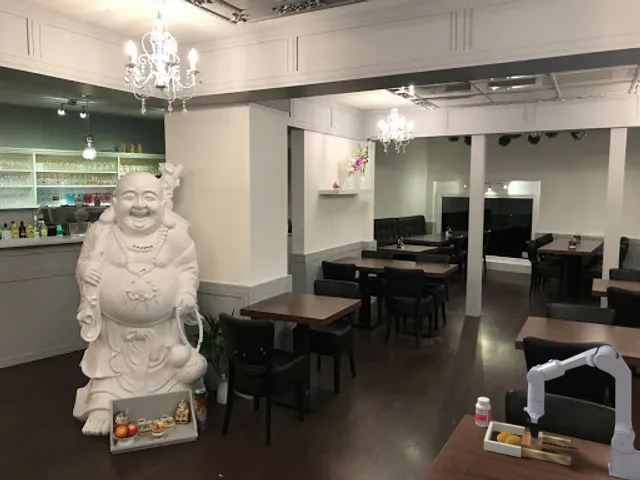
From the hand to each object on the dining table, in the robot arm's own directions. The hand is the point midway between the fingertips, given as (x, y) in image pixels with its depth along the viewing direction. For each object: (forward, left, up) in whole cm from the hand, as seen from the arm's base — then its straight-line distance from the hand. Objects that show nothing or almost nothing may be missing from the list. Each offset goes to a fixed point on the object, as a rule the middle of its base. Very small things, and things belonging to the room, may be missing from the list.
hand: (535, 433), depth 192 cm
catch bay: (+10, 0, -6) cm, 12 cm away
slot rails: (-4, 0, -6) cm, 7 cm away
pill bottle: (+21, -12, -6) cm, 25 cm away
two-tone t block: (+1, 0, -6) cm, 6 cm away
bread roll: (+9, 0, -7) cm, 11 cm away
